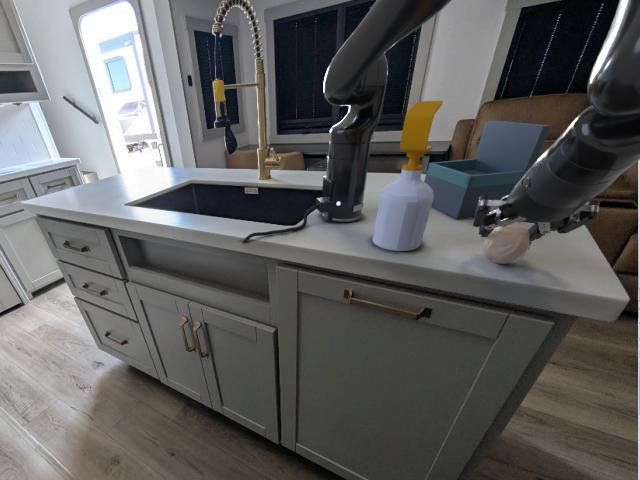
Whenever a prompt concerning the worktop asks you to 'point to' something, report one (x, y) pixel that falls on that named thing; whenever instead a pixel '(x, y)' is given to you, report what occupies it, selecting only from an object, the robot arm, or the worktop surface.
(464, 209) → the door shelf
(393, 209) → the soap bottle
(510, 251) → the garlic bulb
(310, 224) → the worktop surface
